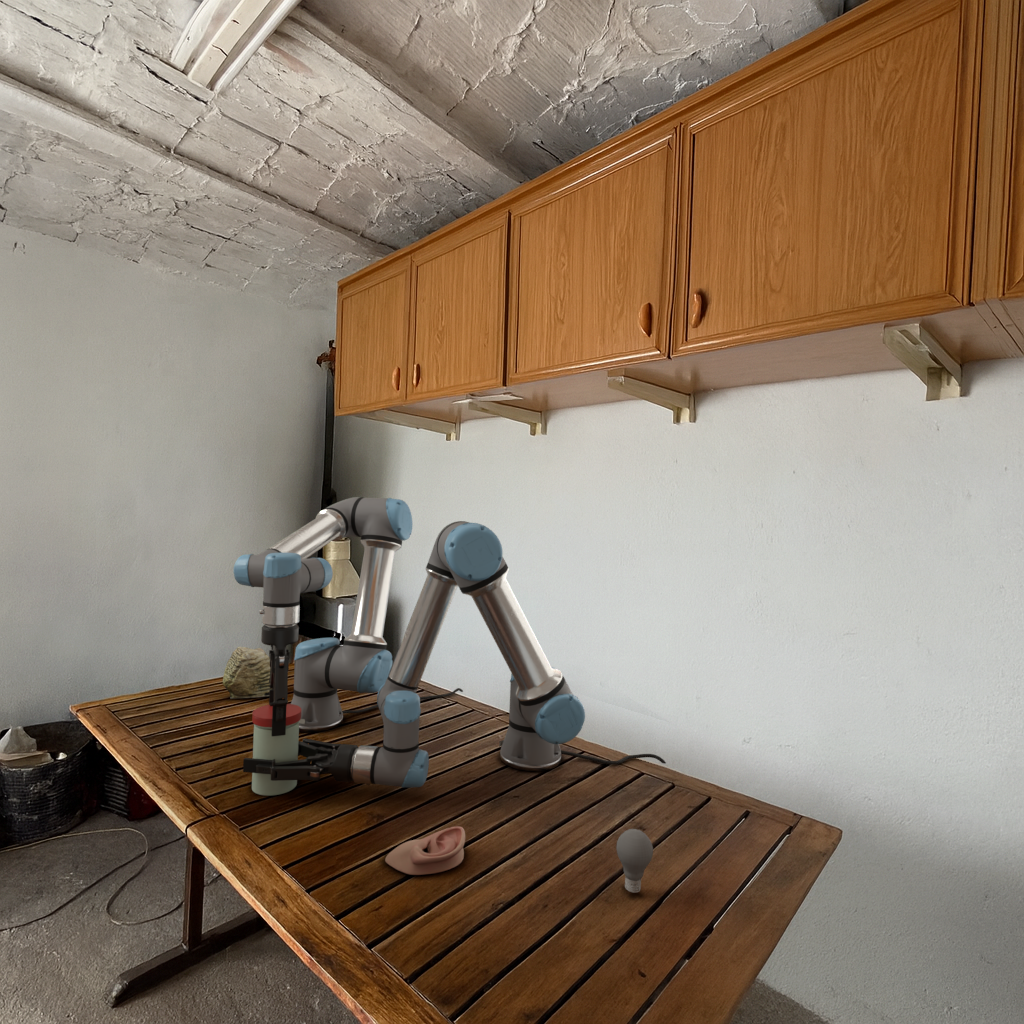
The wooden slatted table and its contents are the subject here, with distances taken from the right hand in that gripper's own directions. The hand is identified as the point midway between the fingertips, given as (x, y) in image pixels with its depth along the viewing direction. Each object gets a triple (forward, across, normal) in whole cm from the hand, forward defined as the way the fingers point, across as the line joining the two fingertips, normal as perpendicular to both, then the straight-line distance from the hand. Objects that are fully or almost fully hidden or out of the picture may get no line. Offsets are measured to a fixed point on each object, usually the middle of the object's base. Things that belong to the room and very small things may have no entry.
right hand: (255, 755), depth 138 cm
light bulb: (-79, -26, -6) cm, 83 cm away
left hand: (-4, 0, +7) cm, 8 cm away
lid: (-4, 0, +10) cm, 11 cm away
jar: (-4, 0, -6) cm, 8 cm away
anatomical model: (-43, -22, -6) cm, 49 cm away
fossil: (+30, +57, -6) cm, 65 cm away
